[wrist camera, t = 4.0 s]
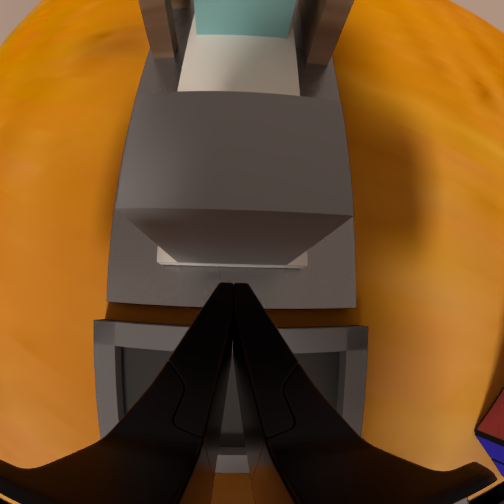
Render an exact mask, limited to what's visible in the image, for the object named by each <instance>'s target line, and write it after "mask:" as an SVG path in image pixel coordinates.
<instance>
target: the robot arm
mask: <svg viewBox="0 0 504 504" xmlns="http://www.w3.org/2000/svg"><path fill="white" fill-rule="evenodd" d="M232 342H233V361H234V369H235V376H236V384H237V391H238V398H239V405H240V412H241V419H242V426H243V433H244V439H245V446H246V452H247V459H248V465H249V471H250V477H251V482H252V483H251V484H252V490H253V496H254V501H255V504H504V481H503V482H501V483H500V484H498V485H496V486H494V487H493V488H491V489H489V490H487V491H485V492H484V493H482V494H480V495H478V496H476V497H474V498H473V499H471V500H468V496H470V495H472V494H474V493H476V492H478V491H480V490H482V489H483V488H485V487H487V486H489V485H490V484H492V483H494V482H495V481H496V480H497V478H496V476H495V475H494V473H493V472H492V471H491V470H489V469H488V468H486V467H484V466H483V465H481V464H479V463H477V462H472V463H469V464H466V465H464V466H462V467H459V468H457V469H455V470H451V471H435V470H431V469H428V468H425V467H422V466H420V465H417V464H415V463H412V462H410V461H407V460H405V459H402V458H400V457H397V456H395V455H393V454H390V453H388V452H386V451H383V450H381V449H379V448H377V447H375V446H373V445H371V444H369V443H368V442H367V441H365V440H364V439H363V438H362V437H360V436H359V435H358V434H357V433H356V432H355V431H354V429H353V428H352V427H351V426H350V425H349V424H348V423H347V422H346V421H345V420H344V418H343V417H342V416H341V415H340V414H339V413H338V412H337V411H336V410H335V408H334V407H333V406H332V405H331V404H330V403H329V402H328V400H327V399H326V398H325V397H324V396H323V394H322V393H321V392H320V391H319V390H318V388H317V387H316V386H315V384H314V383H313V382H312V380H311V379H310V377H309V376H308V375H307V373H306V372H305V370H304V369H303V367H302V366H301V364H299V361H298V360H297V358H296V357H295V355H294V354H293V352H292V351H291V349H290V347H289V346H288V344H287V343H286V341H285V340H284V338H283V337H282V335H281V334H280V332H279V331H278V329H277V327H276V326H275V324H274V323H273V321H272V320H271V318H270V317H269V315H268V314H267V312H266V310H265V309H264V307H263V306H262V304H261V303H260V301H259V299H258V298H257V296H256V295H255V293H254V292H253V290H252V289H251V287H250V285H249V284H248V283H234V285H233V283H231V282H220V283H219V284H218V285H217V287H216V288H215V290H214V291H213V293H212V294H211V296H210V297H209V299H208V300H207V302H206V303H205V305H204V306H203V308H202V309H201V311H200V312H199V314H198V315H197V317H196V318H195V320H194V321H193V323H192V324H191V326H190V327H189V329H188V330H187V332H186V333H185V335H184V336H183V338H182V339H181V341H180V342H179V344H178V345H177V347H176V348H175V350H174V351H173V353H172V354H171V356H170V357H169V359H168V361H167V362H166V363H165V365H164V366H163V368H162V369H161V371H160V372H159V374H158V375H157V376H156V378H155V379H154V381H153V382H152V383H151V385H150V386H149V387H148V388H147V390H146V391H145V392H144V393H143V395H142V396H141V397H140V398H139V399H138V400H137V402H136V403H135V404H134V405H133V406H132V407H131V408H130V410H129V411H128V412H127V413H126V414H125V415H124V416H123V417H122V419H121V420H120V421H119V422H118V423H117V424H116V425H115V426H114V428H113V429H112V430H111V431H110V432H109V433H108V434H107V435H106V436H104V437H103V438H102V439H101V440H99V441H98V442H96V443H94V444H92V445H90V446H88V447H86V448H84V449H81V450H79V451H77V452H75V453H72V454H70V455H68V456H65V457H63V458H61V459H58V460H56V461H54V462H51V463H49V464H46V465H44V466H41V467H37V468H31V469H24V468H19V467H16V466H13V465H11V464H9V463H7V462H5V461H3V460H0V493H1V494H3V495H5V496H6V497H8V498H10V499H12V500H14V501H16V502H18V503H21V504H211V498H212V491H213V484H214V482H213V481H214V477H215V470H216V463H217V456H218V449H219V442H220V435H221V428H222V421H223V414H224V407H225V400H226V393H227V386H228V380H229V373H230V366H231V359H232ZM0 504H12V503H10V502H8V501H6V500H4V499H2V498H0Z"/></svg>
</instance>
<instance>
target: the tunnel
mask: <svg viewBox="0 0 504 504" xmlns="http://www.w3.org/2000/svg"><path fill="white" fill-rule="evenodd" d="M189 2H190V0H139V5H140V9H141V13H142V17H143V21H144V25H145V29H146V33H147V37H148V41H149V45H150V48H151V52H152V56H153V59H160V58H174V57H175V53H176V49H177V45H178V43H177V37H176V30H175V24H174V17H173V10H172V9H179V8H188V6H189ZM353 2H354V0H299V2H298V7H299V13H300V20H301V26H302V33H303V40H304V47H305V55H306V62H307V63H311V64H318V65H325V66H328V63H329V61H330V59H331V56H332V54H333V51H334V49H335V46H336V44H337V41H338V39H339V36H340V34H341V32H342V29H343V27H344V24H345V22H346V19H347V17H348V14H349V12H350V9H351V7H352V5H353Z"/></svg>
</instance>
